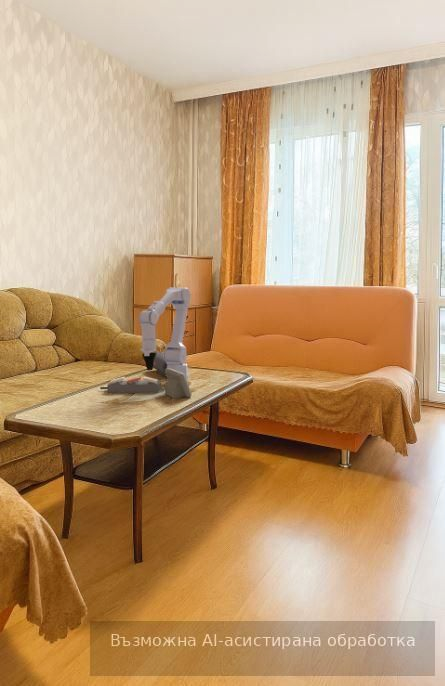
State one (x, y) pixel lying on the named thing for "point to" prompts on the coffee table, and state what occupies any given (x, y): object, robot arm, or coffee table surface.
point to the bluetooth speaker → (160, 363)
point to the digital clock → (176, 384)
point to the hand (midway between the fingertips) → (149, 369)
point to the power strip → (134, 387)
